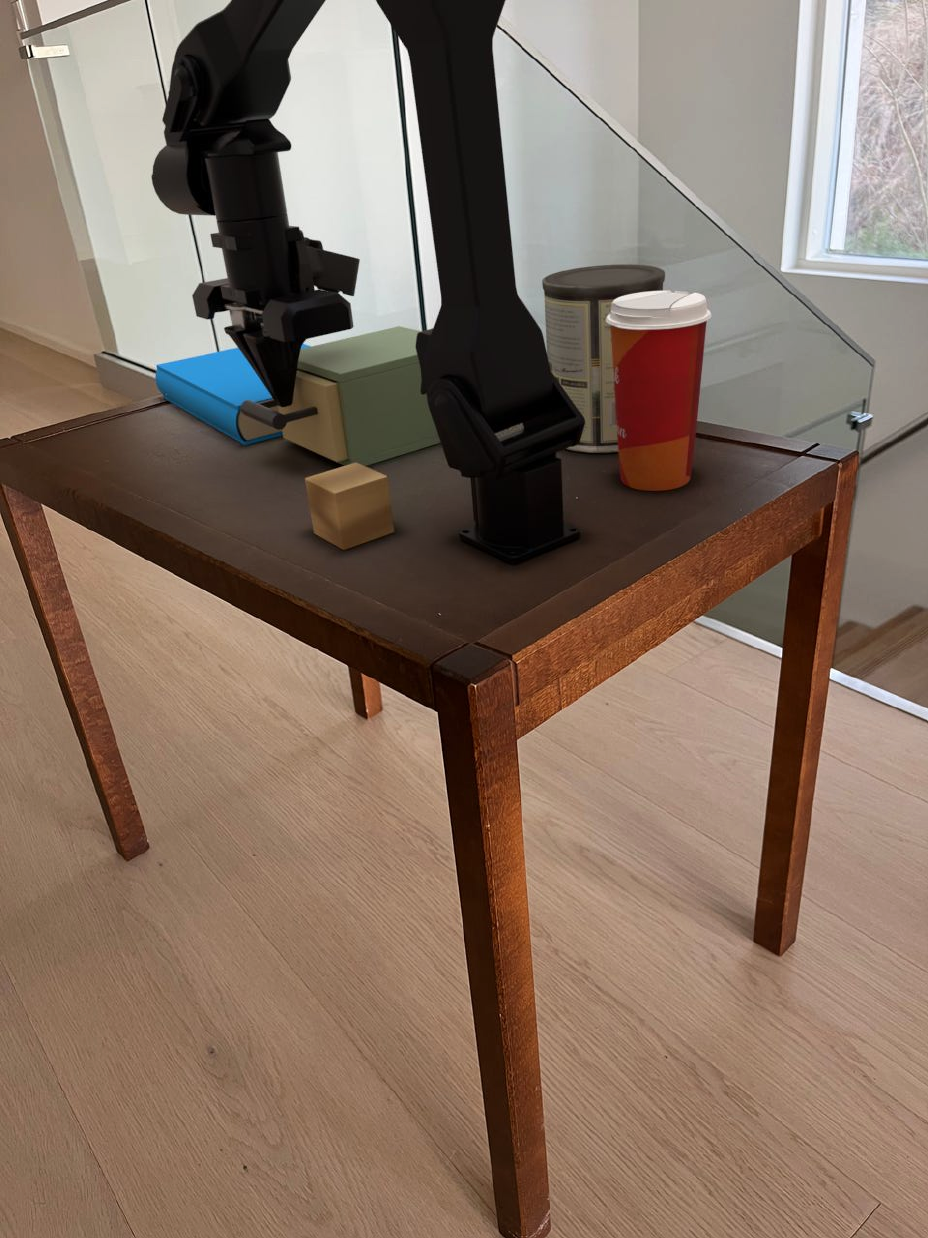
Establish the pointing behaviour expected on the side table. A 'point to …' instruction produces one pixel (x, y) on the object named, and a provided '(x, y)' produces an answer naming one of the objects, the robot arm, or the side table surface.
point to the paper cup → (657, 384)
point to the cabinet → (376, 393)
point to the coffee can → (590, 341)
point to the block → (350, 505)
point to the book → (218, 392)
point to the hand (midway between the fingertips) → (285, 405)
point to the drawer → (307, 416)
